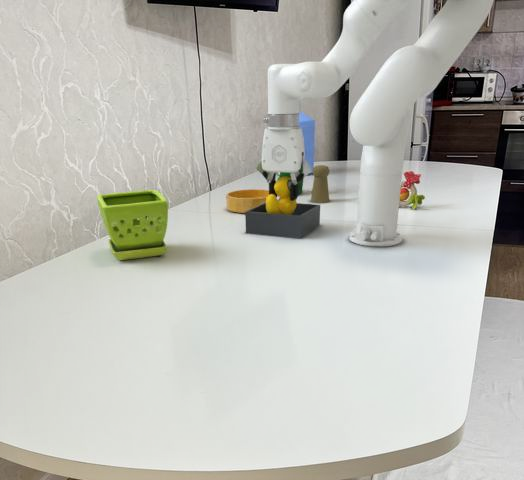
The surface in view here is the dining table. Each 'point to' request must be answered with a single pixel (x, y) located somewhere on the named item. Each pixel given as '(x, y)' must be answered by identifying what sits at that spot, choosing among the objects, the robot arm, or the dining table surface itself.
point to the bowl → (245, 199)
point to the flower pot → (135, 223)
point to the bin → (283, 221)
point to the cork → (320, 184)
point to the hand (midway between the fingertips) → (283, 198)
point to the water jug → (308, 137)
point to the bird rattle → (405, 193)
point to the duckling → (281, 198)
